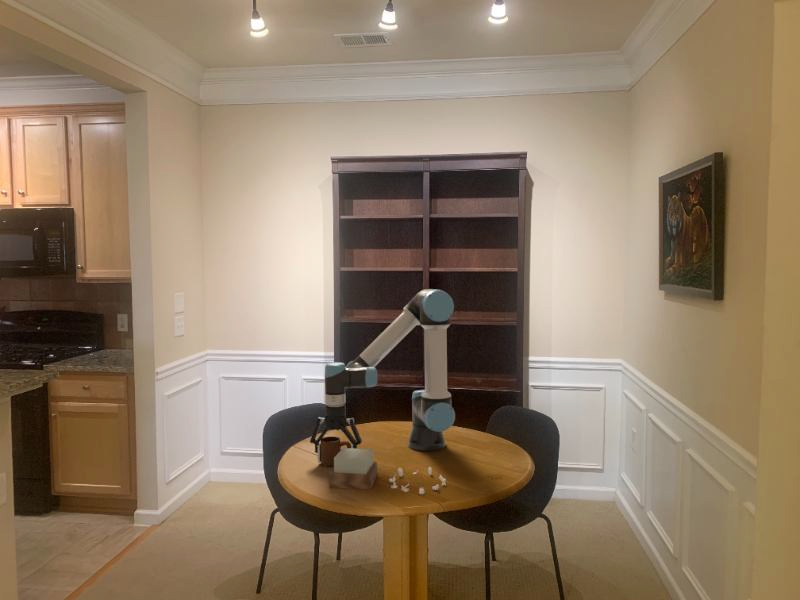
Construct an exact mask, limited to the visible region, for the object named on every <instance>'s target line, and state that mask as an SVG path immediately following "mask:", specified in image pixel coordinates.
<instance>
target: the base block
mask: <svg viewBox="0 0 800 600" xmlns="http://www.w3.org/2000/svg"><path fill="white" fill-rule="evenodd" d="M377 477H378V461H373V465H372V466H371V468H370V469H369V471H368V472H367V474H352V473H334V467H333V468H332V469H331V471H330V472H329V474H328V481H329V482H328V484H329V489H330V488H331V489H355V490H357V489H358V490H359V489H360V490H372V488H373V485H374V483H375V480H376V478H377Z"/></svg>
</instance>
